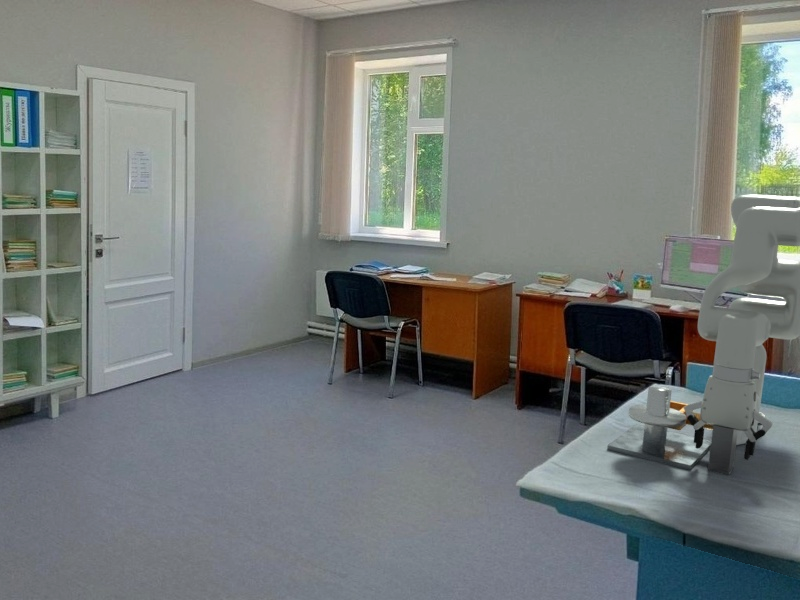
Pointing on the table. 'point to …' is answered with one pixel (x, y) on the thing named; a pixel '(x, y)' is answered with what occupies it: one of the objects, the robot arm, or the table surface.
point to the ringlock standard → (661, 432)
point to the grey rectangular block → (722, 449)
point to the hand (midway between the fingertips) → (722, 452)
